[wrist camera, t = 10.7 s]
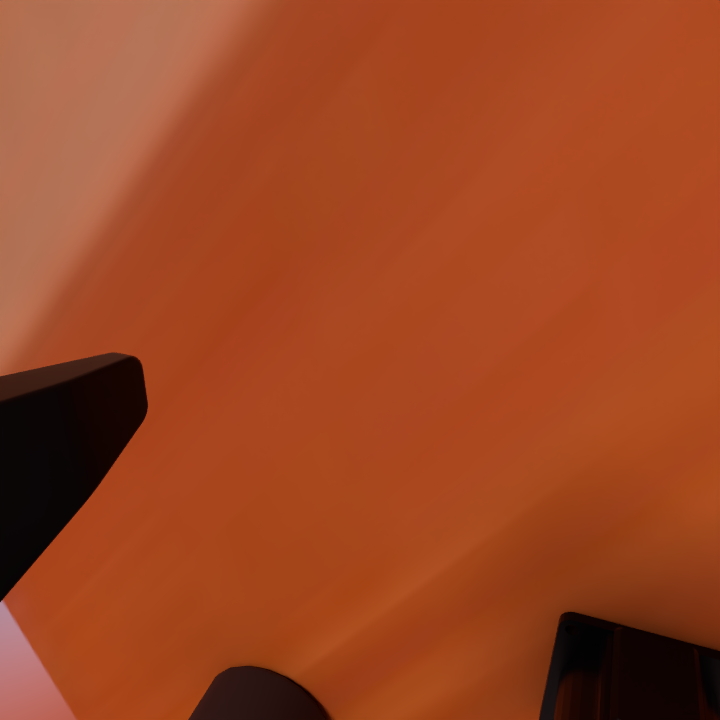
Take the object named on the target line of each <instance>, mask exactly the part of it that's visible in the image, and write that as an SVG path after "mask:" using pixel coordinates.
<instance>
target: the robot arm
mask: <svg viewBox="0 0 720 720" xmlns="http://www.w3.org/2000/svg"><path fill="white" fill-rule="evenodd" d="M147 409H148V401H147V395H146V388H145V381H144V374H143V367H142V364H141V362H140V360H139V359H138V358H136V357H134V356H131V355H126V354H121V353H107V354H102V355H98V356H93V357H88V358H84V359H79V360H74V361H70V362H65V363H60V364H56V365H51V366H47V367H42V368H37V369H33V370H28V371H23V372H19V373H14V374H9V375H5V376H0V602H1V601H2V600H3V599H4V597H5V596H6V595H7V594H8V593H9V591H10V590H11V589H12V588H13V587H14V586H15V584H16V583H17V582H18V581H19V580H20V579H21V577H22V576H23V575H24V574H25V573H26V572H27V570H28V569H29V568H30V567H31V566H32V565H33V563H34V562H35V561H36V560H37V559H38V558H39V556H40V555H41V554H42V553H43V552H44V551H45V549H46V548H47V547H48V546H49V545H50V543H51V542H52V541H53V540H54V539H55V538H56V536H57V535H58V534H59V533H60V532H61V531H62V529H63V528H64V527H65V526H66V525H67V524H68V522H69V521H70V520H71V519H72V518H73V517H74V515H75V514H76V513H77V512H78V511H79V510H80V508H81V507H82V506H83V505H84V504H85V502H86V501H87V500H88V499H89V497H90V496H91V495H92V494H93V492H94V491H95V490H96V488H97V487H98V485H99V484H100V483H101V481H102V480H103V478H104V477H105V476H106V474H107V473H108V471H109V470H110V468H111V467H112V465H113V464H114V463H115V461H116V460H117V458H118V457H119V455H120V454H121V452H122V451H123V450H124V448H125V447H126V445H127V444H128V442H129V441H130V440H131V438H132V437H133V435H134V434H135V432H136V431H137V429H138V428H139V427H140V425H141V424H142V422H143V421H144V419H145V416H146V414H147ZM569 625H574V626H576V627H571V626H569ZM539 720H720V651H717V650H713V649H709V648H706V647H702V646H698V645H694V644H691V643H687V642H683V641H679V640H676V639H672V638H668V637H665V636H661V635H657V634H653V633H650V632H646V631H642V630H638V629H635V628H631V627H627V626H624V625H620V624H616V623H612V622H609V621H605V620H601V619H597V618H594V617H590V616H586V615H583V614H579V613H575V612H566V613H564V614H562V615H561V616H560V618H559V623H558V628H557V633H556V638H555V643H554V647H553V652H552V657H551V662H550V667H549V672H548V677H547V682H546V687H545V691H544V696H543V701H542V706H541V711H540V717H539Z"/></svg>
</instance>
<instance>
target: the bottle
mask: <svg viewBox="0 0 720 720" xmlns="http://www.w3.org/2000/svg"><path fill="white" fill-rule="evenodd" d="M188 720H326V719H325V717H324V715H323V714H322V712H321V711H320V709H319V708H318V706H317V704H316V703H315V701H314V700H313V699H312V698H311V697H310V696H309V695H308V694H307V693H306V692H305V691H304V690H303V689H301V688H300V687H299V686H297V685H296V684H294V683H293V682H291V681H290V680H288V679H287V678H285V677H284V676H281V675H279V674H276V673H274V672H272V671H269V670H267V669H263V668H257V667H252V666H241V667H232V668H229V669H227V670H225V671H223V672H222V673H220V674H218V675H217V676H216V677H215V679H214V680H213V682H212V683H211V685H210V687H209V688H208V690H207V691H206V693H205V694H204V696H203V698H202V699H201V701H200V702H199V704H198V705H197V707H196V708H195V710H194V712H193V713H192V715H191V716H190V718H189V719H188Z"/></svg>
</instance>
